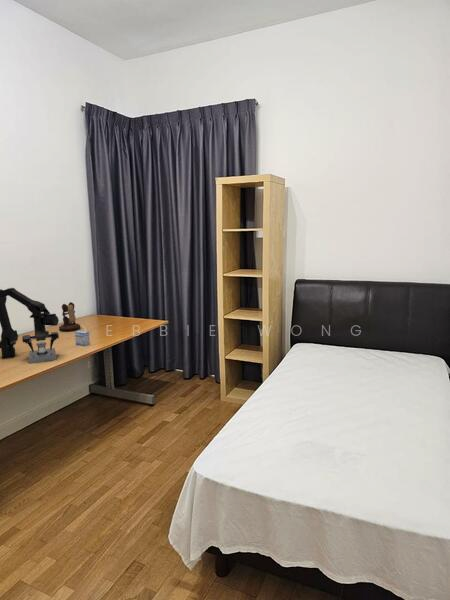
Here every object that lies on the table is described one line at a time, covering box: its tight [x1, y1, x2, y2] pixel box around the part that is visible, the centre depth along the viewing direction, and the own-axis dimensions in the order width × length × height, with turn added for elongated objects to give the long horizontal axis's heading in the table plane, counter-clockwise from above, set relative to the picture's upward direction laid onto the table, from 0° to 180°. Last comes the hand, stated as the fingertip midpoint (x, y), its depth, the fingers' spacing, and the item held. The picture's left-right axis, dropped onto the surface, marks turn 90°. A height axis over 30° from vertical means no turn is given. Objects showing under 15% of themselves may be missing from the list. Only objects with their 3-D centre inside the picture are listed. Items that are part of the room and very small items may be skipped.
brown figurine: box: [58, 301, 81, 332], centre depth 288 cm, size 15×15×20 cm
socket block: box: [28, 347, 57, 364], centre depth 226 cm, size 14×14×3 cm
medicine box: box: [74, 330, 91, 347], centre depth 251 cm, size 8×4×9 cm, turn 69°
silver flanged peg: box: [35, 341, 47, 355], centre depth 226 cm, size 5×5×9 cm
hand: (42, 351), depth 226 cm, fingers open, 9 cm apart
